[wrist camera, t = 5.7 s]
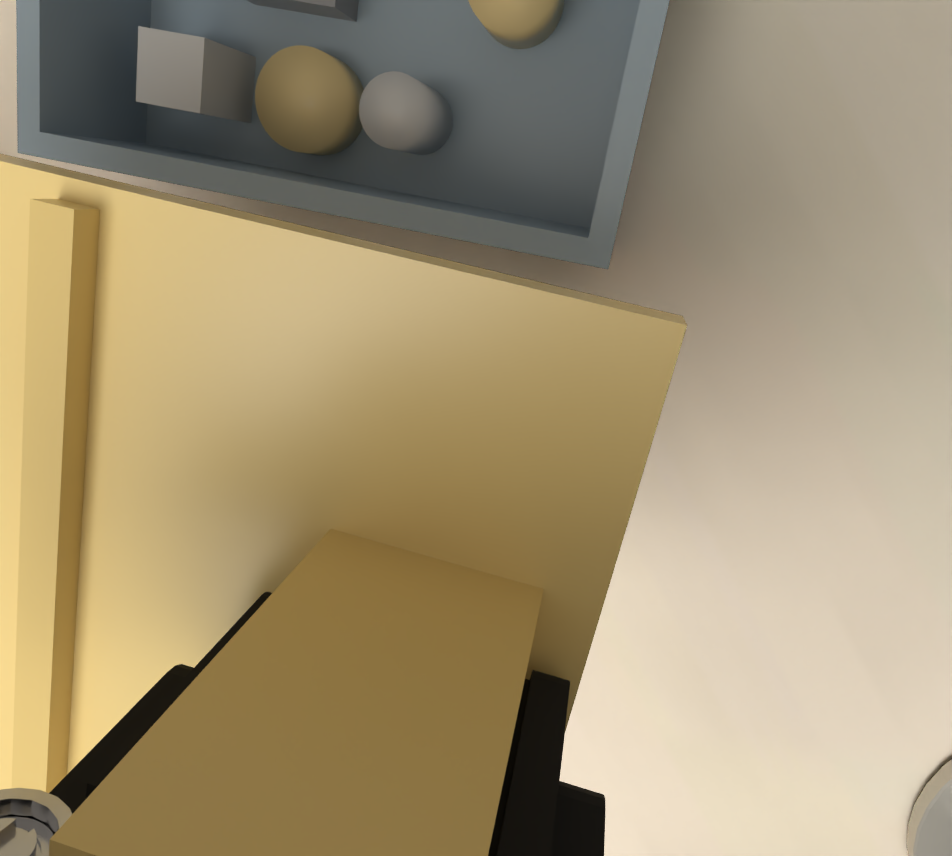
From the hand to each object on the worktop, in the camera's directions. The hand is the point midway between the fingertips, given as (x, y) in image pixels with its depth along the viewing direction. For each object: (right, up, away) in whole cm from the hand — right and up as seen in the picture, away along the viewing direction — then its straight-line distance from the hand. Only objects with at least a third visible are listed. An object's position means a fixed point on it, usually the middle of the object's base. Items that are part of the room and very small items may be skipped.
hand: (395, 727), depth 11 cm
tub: (-2, +19, +19) cm, 27 cm away
